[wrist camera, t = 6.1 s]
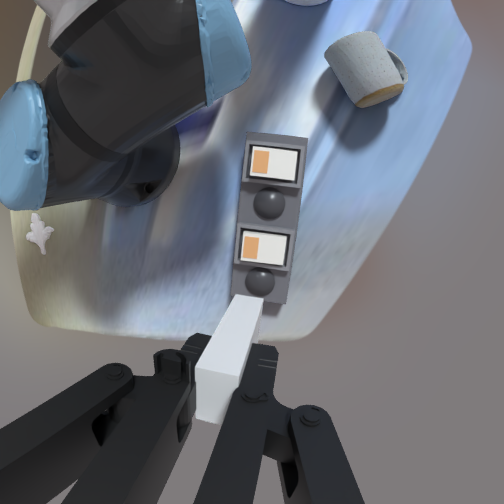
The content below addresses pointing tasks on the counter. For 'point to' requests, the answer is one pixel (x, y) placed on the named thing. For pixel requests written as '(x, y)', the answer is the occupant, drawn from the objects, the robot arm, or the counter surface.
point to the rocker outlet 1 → (273, 163)
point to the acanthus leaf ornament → (39, 232)
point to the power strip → (268, 219)
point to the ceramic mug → (366, 68)
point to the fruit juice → (306, 2)
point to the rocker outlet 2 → (263, 247)
